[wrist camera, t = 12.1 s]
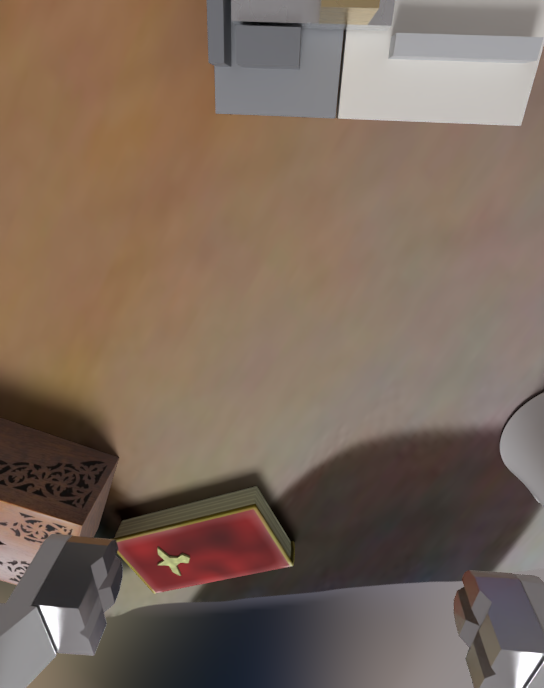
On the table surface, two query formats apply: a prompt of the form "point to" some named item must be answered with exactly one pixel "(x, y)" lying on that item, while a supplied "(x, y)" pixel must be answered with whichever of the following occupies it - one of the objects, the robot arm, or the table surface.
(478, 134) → the table surface
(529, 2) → the plate
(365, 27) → the bolt
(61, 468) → the tissue box cover
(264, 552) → the hardcover book
